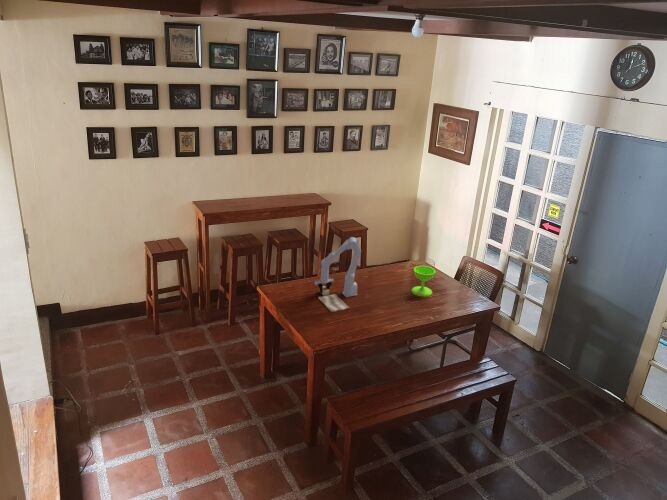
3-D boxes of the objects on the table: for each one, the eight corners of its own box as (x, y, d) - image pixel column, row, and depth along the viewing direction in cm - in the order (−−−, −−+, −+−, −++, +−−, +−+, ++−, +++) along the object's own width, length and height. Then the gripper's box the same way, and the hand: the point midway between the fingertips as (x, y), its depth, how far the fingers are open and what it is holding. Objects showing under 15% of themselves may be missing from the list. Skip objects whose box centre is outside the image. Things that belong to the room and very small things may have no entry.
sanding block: (318, 291, 393) (319, 286, 392) (324, 290, 395) (324, 285, 394) (323, 296, 387) (323, 291, 385) (329, 295, 389) (329, 290, 387)
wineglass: (436, 295, 399) (439, 273, 392) (418, 297, 393) (420, 275, 386) (425, 285, 412) (428, 264, 405) (407, 288, 407) (410, 267, 400)
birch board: (335, 295, 390) (335, 293, 389) (349, 308, 372) (349, 307, 371) (318, 298, 384) (318, 297, 384) (331, 312, 366) (331, 310, 365)
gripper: (331, 271, 392) (330, 287, 397) (313, 274, 385) (312, 290, 391) (335, 275, 386) (334, 291, 391) (317, 278, 380) (316, 295, 385)
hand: (324, 291), depth 390 cm, fingers closed on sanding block, 4 cm apart
